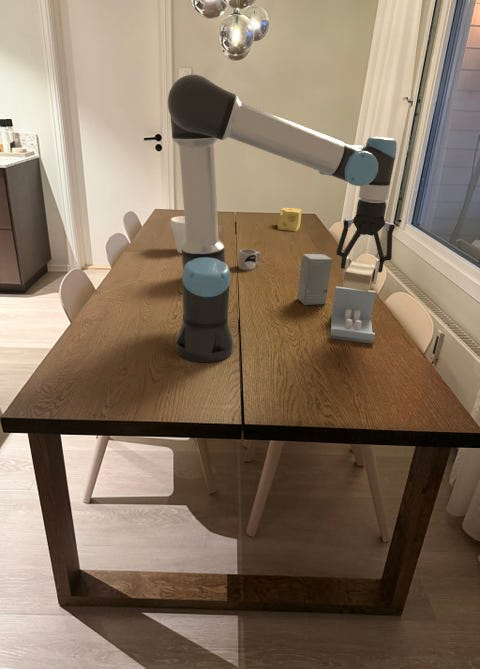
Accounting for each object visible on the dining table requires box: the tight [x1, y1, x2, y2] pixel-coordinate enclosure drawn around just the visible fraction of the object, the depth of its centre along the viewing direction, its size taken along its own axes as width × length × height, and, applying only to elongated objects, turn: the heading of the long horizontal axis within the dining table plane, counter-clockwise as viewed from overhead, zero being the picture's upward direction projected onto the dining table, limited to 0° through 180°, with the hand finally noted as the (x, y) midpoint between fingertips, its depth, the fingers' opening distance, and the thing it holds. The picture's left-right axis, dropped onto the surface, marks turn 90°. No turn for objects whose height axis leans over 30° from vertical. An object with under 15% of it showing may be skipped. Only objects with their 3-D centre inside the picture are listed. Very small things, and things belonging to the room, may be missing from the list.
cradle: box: [330, 285, 377, 345], centre depth 144 cm, size 16×12×10 cm
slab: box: [342, 260, 376, 291], centre depth 139 cm, size 12×7×4 cm, turn 158°
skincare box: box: [296, 253, 333, 306], centre depth 162 cm, size 8×7×16 cm
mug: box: [238, 248, 261, 271], centre depth 193 cm, size 10×7×7 cm
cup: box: [170, 215, 186, 254], centre depth 206 cm, size 12×12×14 cm
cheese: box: [277, 207, 303, 233], centre depth 254 cm, size 10×11×10 cm
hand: (359, 280), depth 140 cm, fingers closed on slab, 8 cm apart
